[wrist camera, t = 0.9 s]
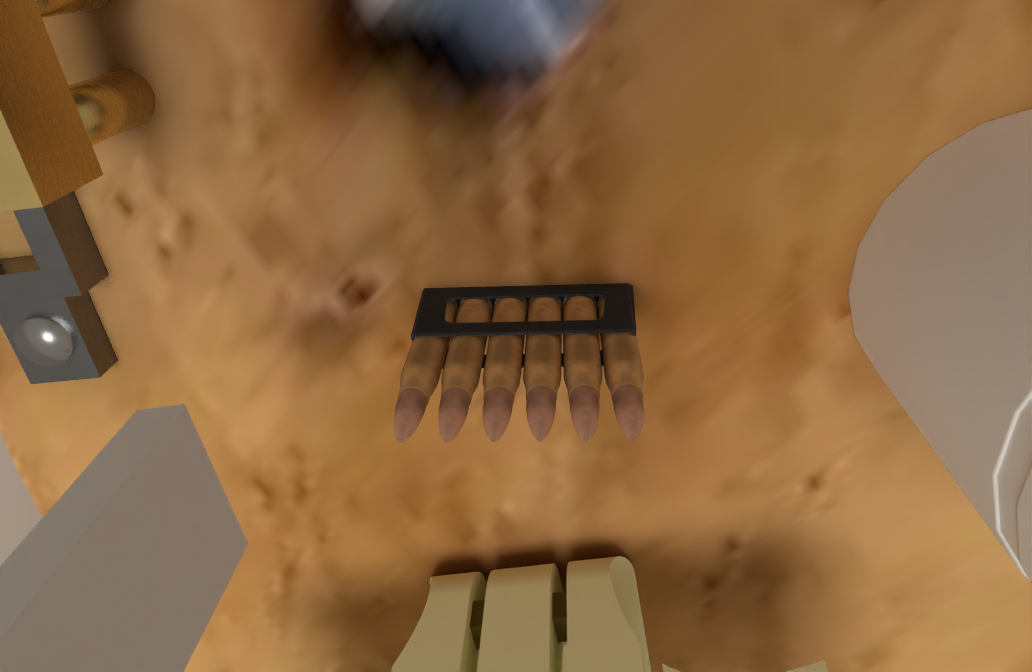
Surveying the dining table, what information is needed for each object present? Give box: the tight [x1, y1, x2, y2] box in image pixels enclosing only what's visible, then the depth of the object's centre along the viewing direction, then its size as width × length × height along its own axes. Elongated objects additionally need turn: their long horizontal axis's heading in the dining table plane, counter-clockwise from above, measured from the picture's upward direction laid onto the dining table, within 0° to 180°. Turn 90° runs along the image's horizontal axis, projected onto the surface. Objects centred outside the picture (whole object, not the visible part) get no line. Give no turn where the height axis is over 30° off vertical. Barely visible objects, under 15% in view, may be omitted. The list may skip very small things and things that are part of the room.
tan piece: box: [0, 0, 155, 212], centre depth 29 cm, size 9×3×10 cm, turn 8°
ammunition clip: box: [394, 283, 644, 443], centre depth 34 cm, size 11×2×12 cm, turn 93°
